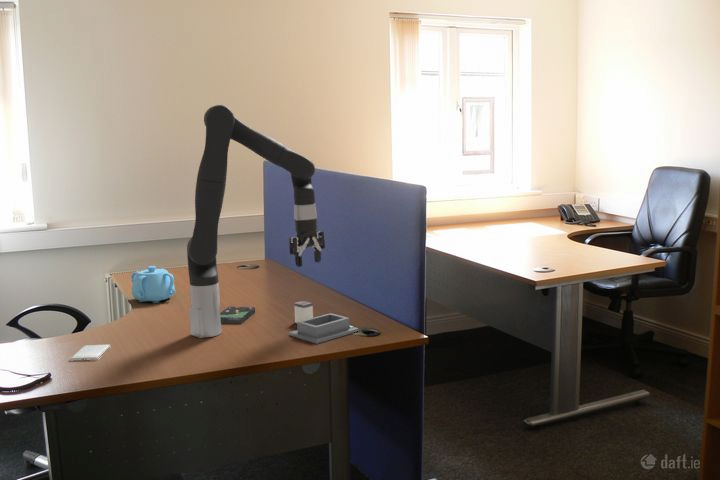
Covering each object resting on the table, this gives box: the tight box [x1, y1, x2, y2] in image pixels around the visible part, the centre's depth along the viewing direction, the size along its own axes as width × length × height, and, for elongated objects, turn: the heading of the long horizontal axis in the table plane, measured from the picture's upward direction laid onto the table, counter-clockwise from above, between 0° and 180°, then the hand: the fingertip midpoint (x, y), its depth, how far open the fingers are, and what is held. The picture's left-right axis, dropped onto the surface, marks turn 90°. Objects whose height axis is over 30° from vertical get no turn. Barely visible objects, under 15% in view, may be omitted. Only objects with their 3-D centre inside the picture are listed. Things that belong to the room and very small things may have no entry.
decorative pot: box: [131, 265, 177, 304], centre depth 297 cm, size 16×16×14 cm
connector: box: [293, 300, 314, 324], centre depth 258 cm, size 4×5×7 cm
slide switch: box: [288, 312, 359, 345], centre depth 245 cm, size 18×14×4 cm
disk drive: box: [220, 306, 256, 325], centre depth 268 cm, size 10×3×15 cm
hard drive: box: [69, 344, 111, 362], centre depth 230 cm, size 2×8×12 cm
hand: (308, 264), depth 255 cm, fingers open, 8 cm apart
